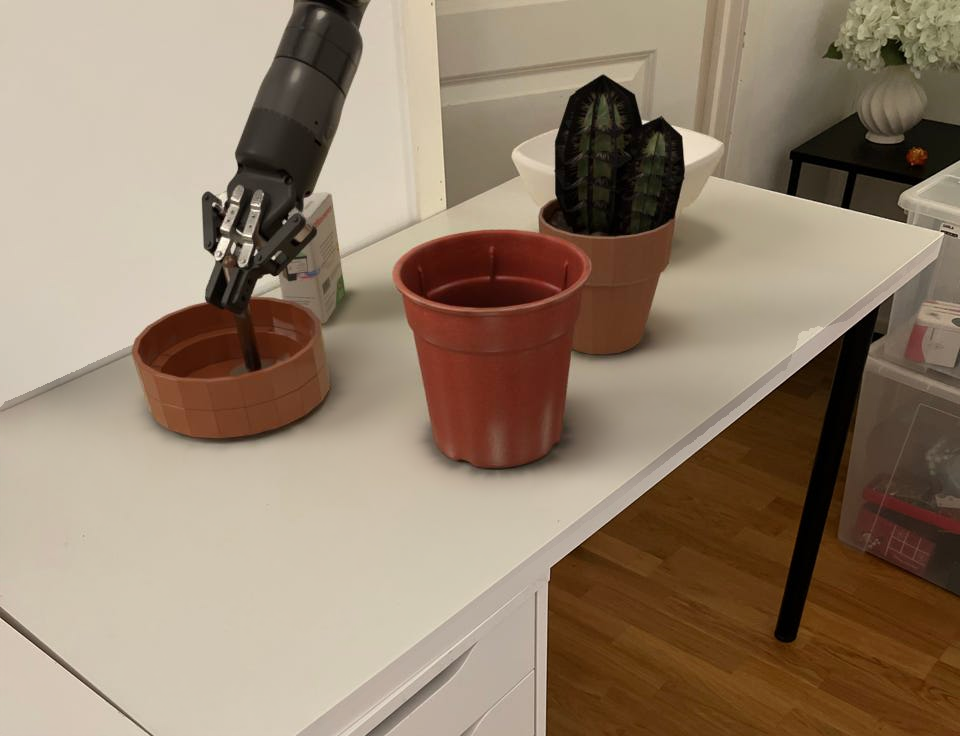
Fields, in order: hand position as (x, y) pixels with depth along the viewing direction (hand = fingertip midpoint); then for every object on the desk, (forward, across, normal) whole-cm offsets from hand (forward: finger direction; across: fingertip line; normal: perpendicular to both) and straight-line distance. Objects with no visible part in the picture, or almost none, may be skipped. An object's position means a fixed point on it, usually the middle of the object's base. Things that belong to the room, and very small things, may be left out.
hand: (222, 307), depth 90 cm
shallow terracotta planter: (+6, -2, +8) cm, 11 cm away
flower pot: (+1, +24, +14) cm, 28 cm away
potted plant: (-15, +22, +30) cm, 40 cm away
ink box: (-7, -10, +22) cm, 26 cm away
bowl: (-31, +10, +47) cm, 57 cm away
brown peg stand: (+5, 0, +8) cm, 10 cm away
